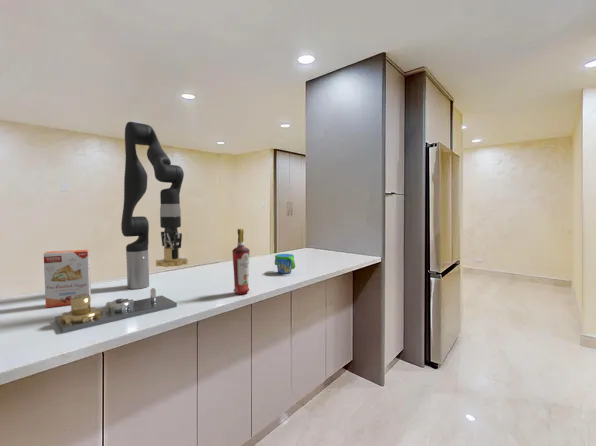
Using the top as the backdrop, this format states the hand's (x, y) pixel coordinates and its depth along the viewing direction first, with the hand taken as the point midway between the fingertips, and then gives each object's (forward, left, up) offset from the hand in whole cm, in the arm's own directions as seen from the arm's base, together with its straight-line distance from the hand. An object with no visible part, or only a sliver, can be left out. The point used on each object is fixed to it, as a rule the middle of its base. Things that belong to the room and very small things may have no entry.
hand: (171, 257), depth 126 cm
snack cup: (-7, +67, -18) cm, 70 cm away
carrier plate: (+1, -19, -17) cm, 26 cm away
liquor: (+10, +26, -18) cm, 33 cm away
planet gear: (0, 0, -2) cm, 2 cm away
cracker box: (-26, -30, -18) cm, 43 cm away
